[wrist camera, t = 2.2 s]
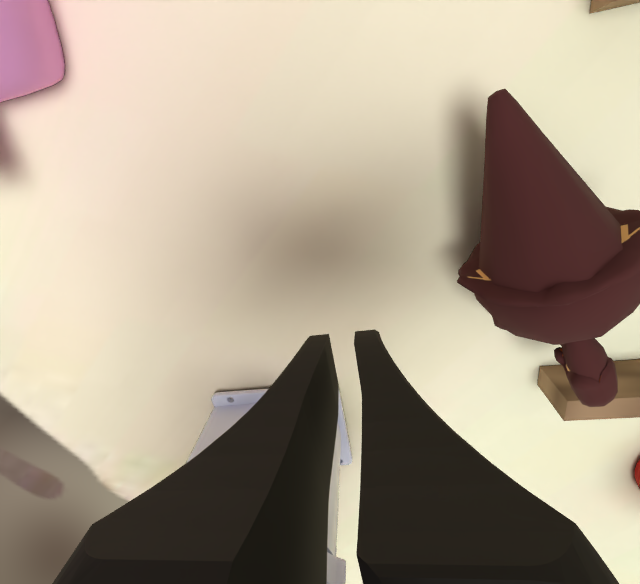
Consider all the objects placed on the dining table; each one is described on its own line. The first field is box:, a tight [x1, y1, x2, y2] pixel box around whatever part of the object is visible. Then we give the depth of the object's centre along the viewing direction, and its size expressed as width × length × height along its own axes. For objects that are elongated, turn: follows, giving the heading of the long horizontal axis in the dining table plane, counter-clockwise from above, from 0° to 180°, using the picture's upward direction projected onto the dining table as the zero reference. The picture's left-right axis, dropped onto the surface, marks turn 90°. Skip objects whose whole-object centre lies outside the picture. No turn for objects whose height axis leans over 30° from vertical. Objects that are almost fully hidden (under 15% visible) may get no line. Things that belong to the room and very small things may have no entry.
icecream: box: [457, 89, 640, 407], centre depth 14 cm, size 7×7×15 cm
